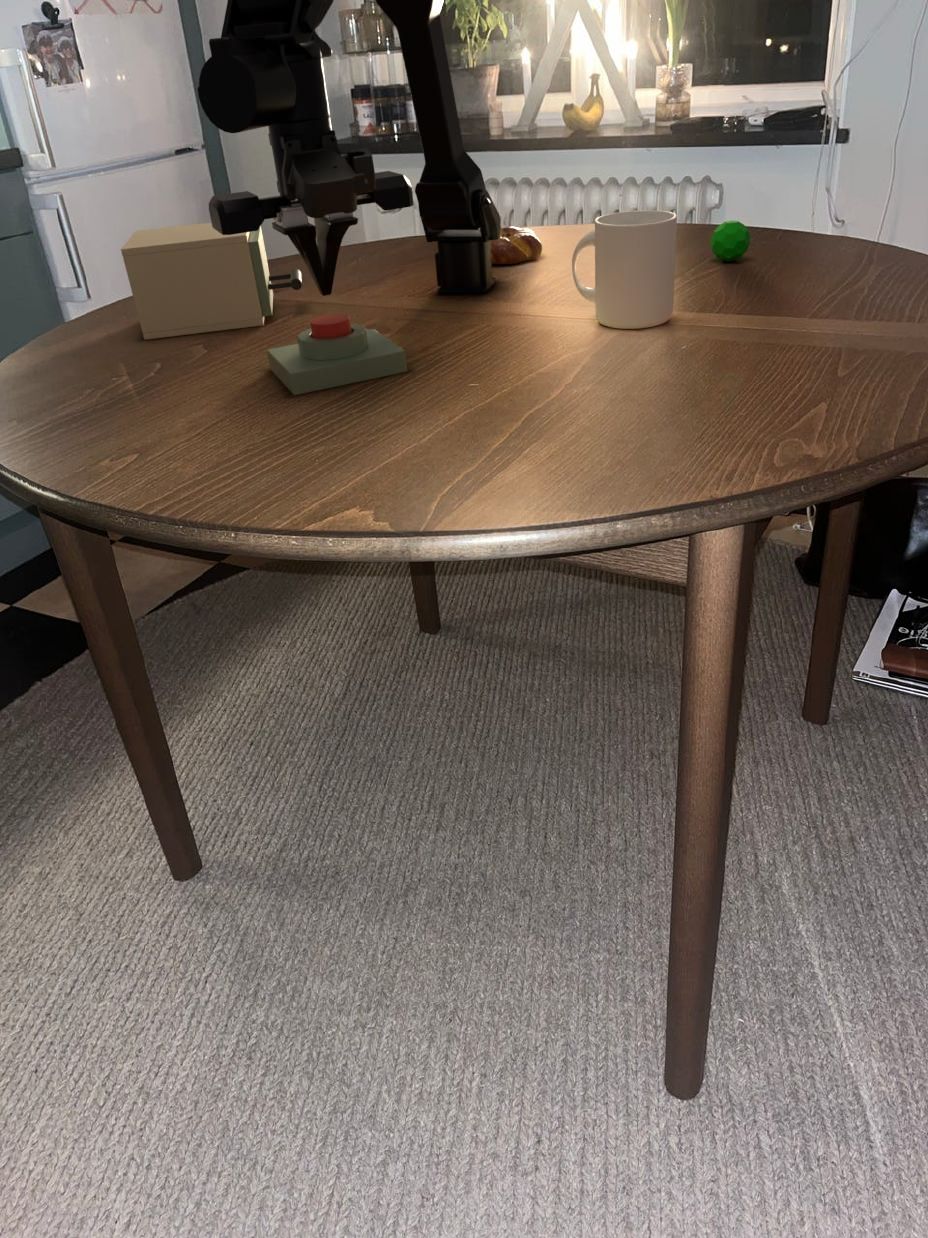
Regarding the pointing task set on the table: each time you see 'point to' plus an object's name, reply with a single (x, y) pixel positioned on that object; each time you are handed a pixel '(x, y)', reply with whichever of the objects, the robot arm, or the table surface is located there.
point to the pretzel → (515, 246)
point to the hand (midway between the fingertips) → (326, 294)
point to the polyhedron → (730, 240)
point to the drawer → (263, 274)
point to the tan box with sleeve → (191, 280)
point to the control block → (336, 360)
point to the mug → (631, 268)
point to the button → (330, 326)
